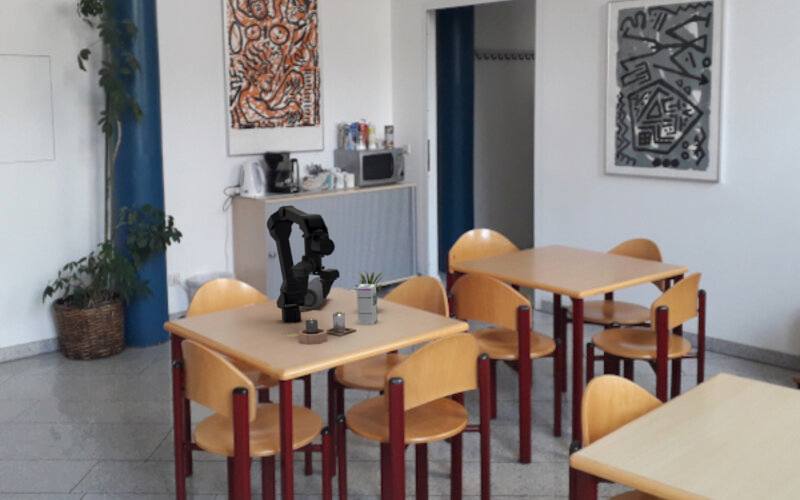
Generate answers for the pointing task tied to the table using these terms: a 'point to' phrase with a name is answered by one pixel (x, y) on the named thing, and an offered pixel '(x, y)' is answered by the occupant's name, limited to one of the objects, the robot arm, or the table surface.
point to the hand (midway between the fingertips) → (314, 297)
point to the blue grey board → (297, 333)
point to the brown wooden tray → (341, 333)
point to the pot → (313, 337)
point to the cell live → (339, 322)
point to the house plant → (370, 280)
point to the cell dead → (311, 326)
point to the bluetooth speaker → (314, 294)
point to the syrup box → (367, 304)
